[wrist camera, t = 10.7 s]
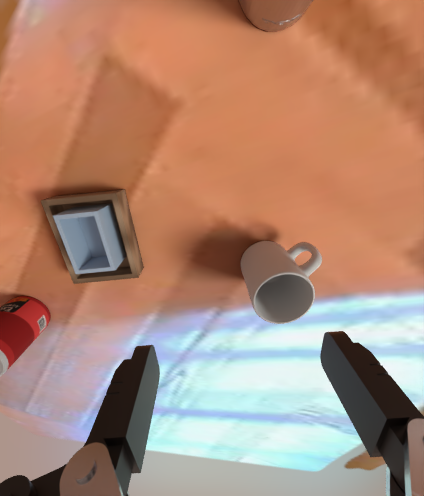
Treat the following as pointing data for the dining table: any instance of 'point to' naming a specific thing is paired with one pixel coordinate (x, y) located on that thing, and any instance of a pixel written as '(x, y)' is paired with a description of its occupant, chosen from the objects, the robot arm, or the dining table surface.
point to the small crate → (91, 238)
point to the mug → (279, 280)
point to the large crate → (118, 198)
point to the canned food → (20, 327)
